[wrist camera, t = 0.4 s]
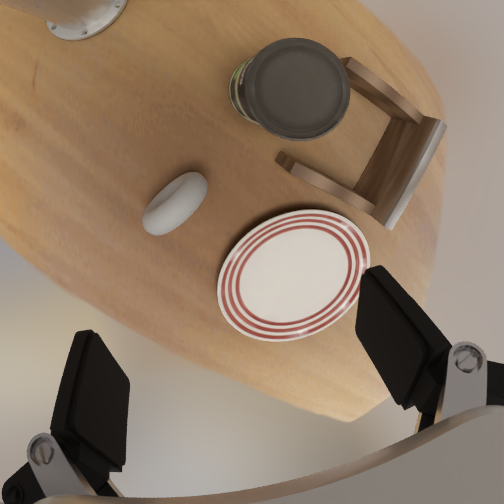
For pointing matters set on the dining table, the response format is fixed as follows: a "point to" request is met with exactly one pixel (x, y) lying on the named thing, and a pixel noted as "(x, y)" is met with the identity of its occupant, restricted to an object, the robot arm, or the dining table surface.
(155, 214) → the donut
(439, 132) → the frame
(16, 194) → the dining table surface
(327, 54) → the coffee can
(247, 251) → the dinner plate
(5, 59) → the dining table surface
